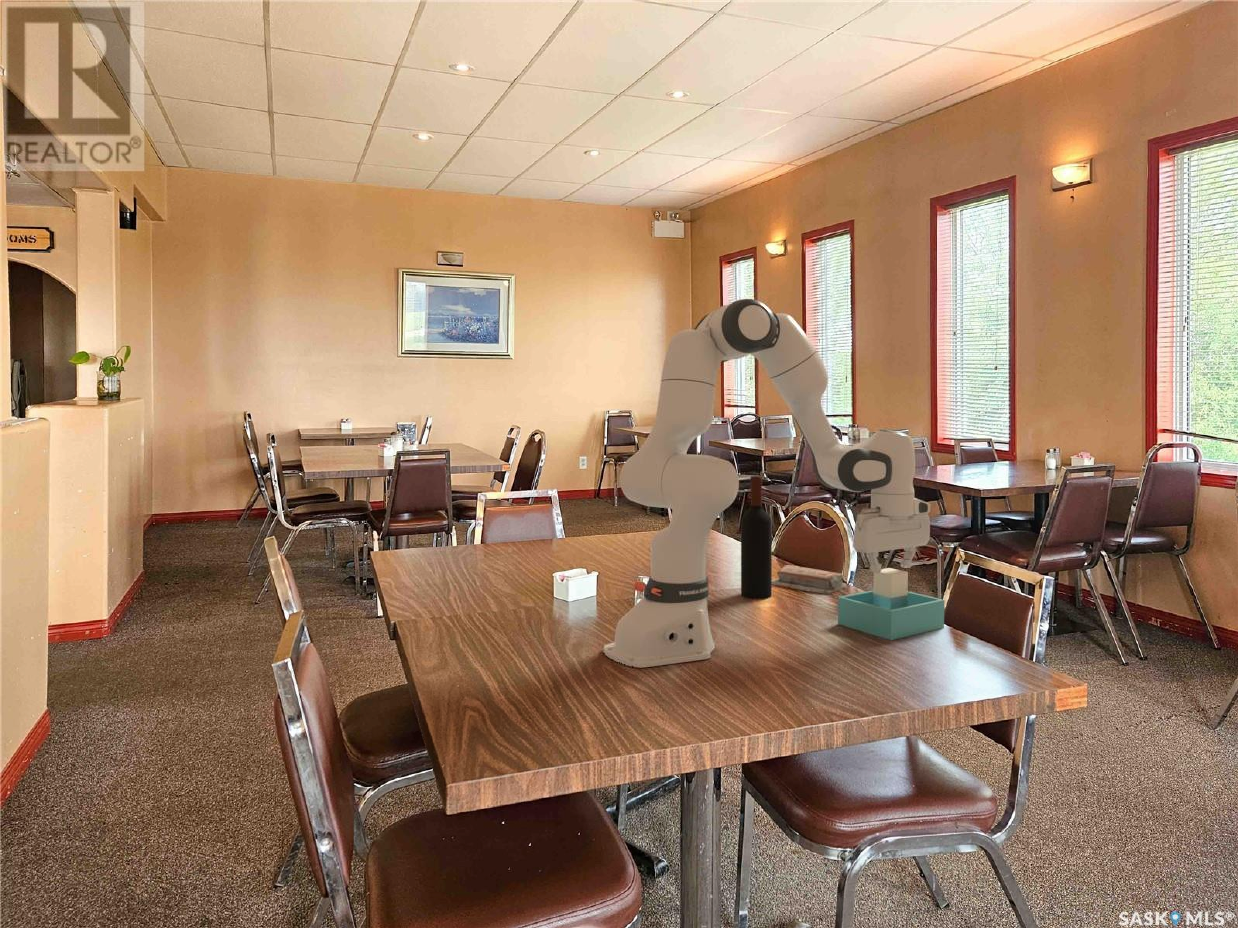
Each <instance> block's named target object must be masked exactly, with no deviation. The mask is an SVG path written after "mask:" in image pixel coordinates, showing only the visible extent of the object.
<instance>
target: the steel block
mask: <svg viewBox="0 0 1238 928" xmlns="http://www.w3.org/2000/svg"><path fill="white" fill-rule="evenodd" d="M873 605H874V606H878V607H882V608H885V609H889V610H894V609H898V608H903V607H907V595H904V596H899V597H894V598H890V597H886V596H882V595H878V594H874V593H873Z"/></svg>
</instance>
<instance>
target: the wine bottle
mask: <svg viewBox="0 0 1238 928" xmlns="http://www.w3.org/2000/svg"><path fill="white" fill-rule="evenodd" d="M749 507H750V508H749V510H747V511H746V512H745V513H744V514H743V515H742V517H741V520H740V595H741V597H743V598H745V599H749V600H767V599H770V598H772V593H773V590H772V589H773V588H772V587H773V586H772V580H773V579H772V574H773V573H772V568H773V567H772V566H773V564H772V561H773V560H772V559H773V558H772V555H773V554H772V547H773V546H772V544H773V543H772V542H773V541H772V540H773V538H772V536H773V533H772V531H773V530H772V529H773V528H772V527H773V526H772V524H773V523H772V517H771V516H770V514H769V513H767V512H766V511H765V510H764V508H763V476H760V475H751V476H750V506H749Z"/></svg>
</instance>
